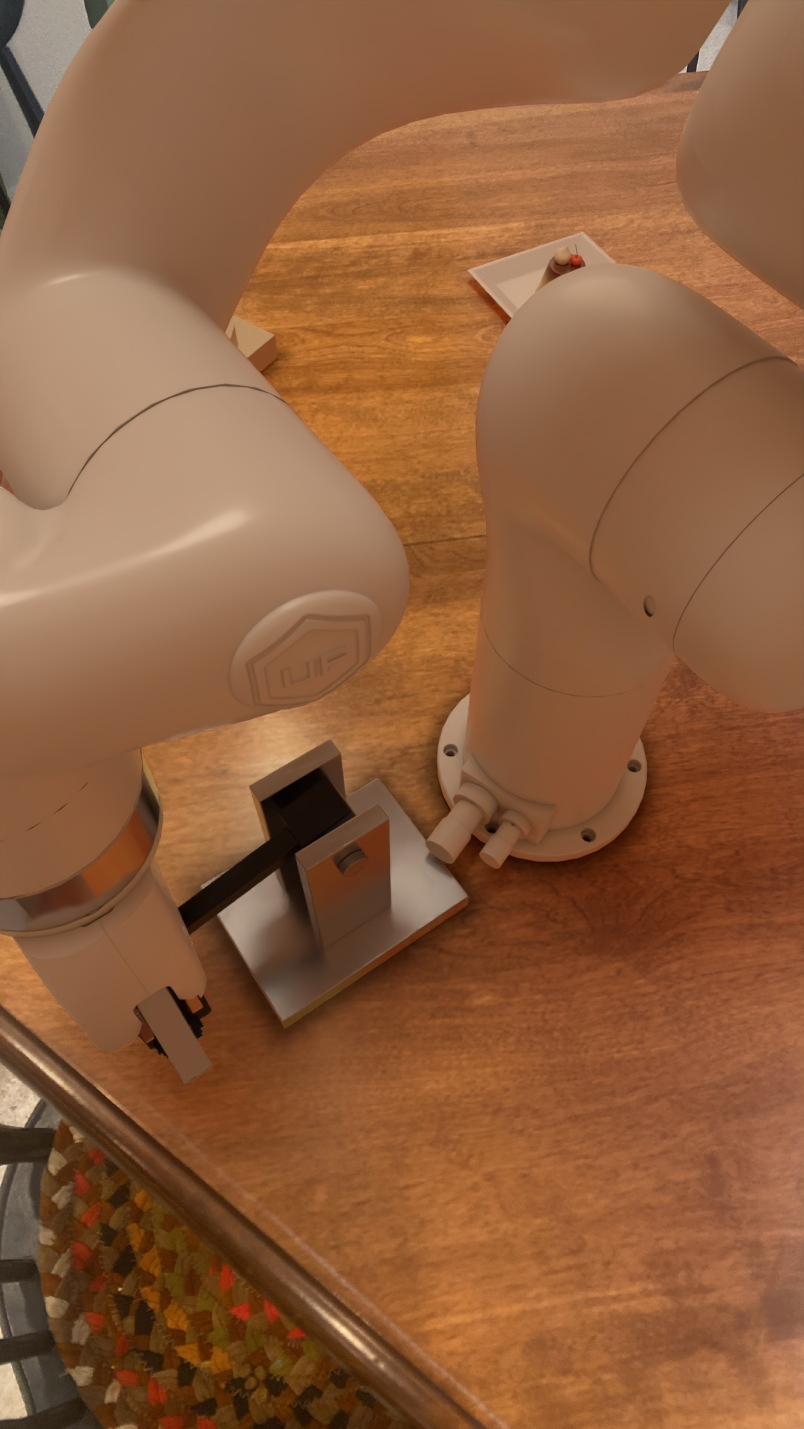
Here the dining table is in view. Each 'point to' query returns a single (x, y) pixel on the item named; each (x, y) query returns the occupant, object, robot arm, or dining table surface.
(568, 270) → the dessert
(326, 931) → the bracket
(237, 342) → the button block
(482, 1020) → the dining table surface
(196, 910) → the lever
